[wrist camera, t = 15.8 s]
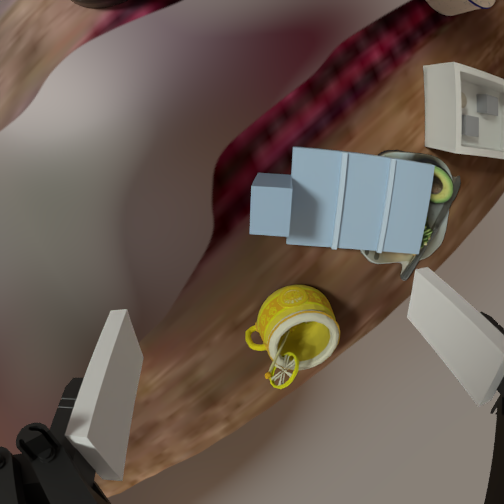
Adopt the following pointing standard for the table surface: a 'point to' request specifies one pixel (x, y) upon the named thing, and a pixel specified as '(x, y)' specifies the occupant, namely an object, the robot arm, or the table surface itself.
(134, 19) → the table surface
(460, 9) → the teacup with lid
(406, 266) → the salad plate
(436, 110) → the tub
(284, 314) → the mug
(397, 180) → the light blue l-shaped piece
